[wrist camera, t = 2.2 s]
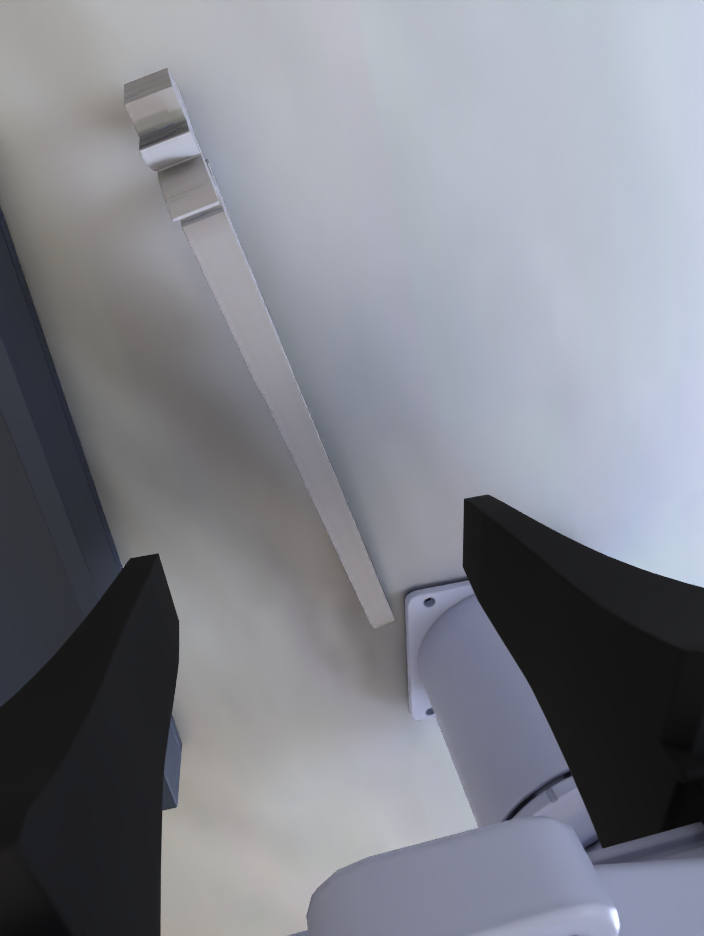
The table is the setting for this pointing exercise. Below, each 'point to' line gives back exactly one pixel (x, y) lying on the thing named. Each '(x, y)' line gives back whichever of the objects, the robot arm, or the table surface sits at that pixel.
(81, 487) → the tool tray
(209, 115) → the table surface
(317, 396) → the table surface
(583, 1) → the table surface
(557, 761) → the robot arm
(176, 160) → the caliper
